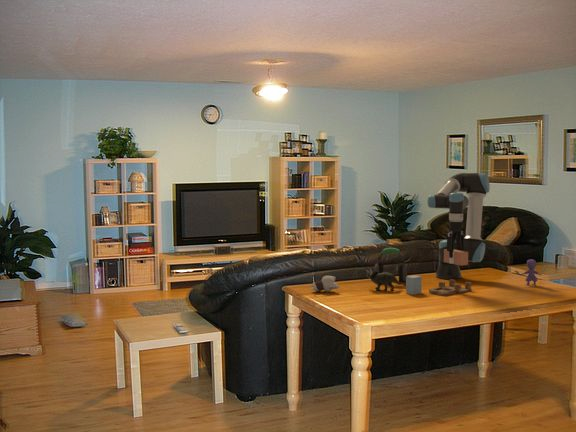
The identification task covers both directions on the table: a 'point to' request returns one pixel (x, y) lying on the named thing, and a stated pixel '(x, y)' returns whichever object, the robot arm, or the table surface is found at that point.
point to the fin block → (414, 284)
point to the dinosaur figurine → (382, 279)
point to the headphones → (401, 266)
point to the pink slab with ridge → (457, 257)
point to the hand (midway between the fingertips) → (455, 262)
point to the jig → (450, 288)
